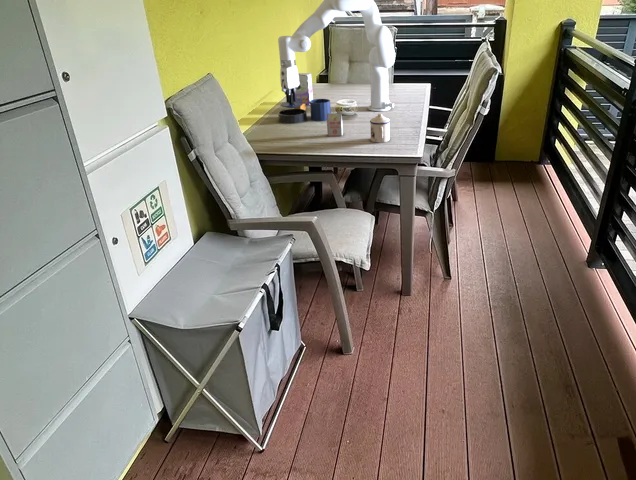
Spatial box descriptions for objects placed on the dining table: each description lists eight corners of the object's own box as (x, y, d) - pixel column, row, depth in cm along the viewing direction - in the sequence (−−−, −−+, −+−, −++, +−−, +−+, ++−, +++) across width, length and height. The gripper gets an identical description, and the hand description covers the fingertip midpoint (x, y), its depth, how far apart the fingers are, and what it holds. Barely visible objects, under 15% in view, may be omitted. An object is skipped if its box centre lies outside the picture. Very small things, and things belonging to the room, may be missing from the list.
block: (305, 111, 294) (305, 103, 291) (301, 113, 291) (300, 105, 288) (299, 111, 296) (298, 102, 293) (294, 112, 293) (293, 104, 290)
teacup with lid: (369, 137, 249) (369, 111, 242) (388, 136, 249) (389, 111, 243) (371, 145, 239) (371, 118, 232) (391, 144, 239) (392, 117, 233)
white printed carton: (328, 134, 256) (327, 112, 250) (342, 134, 255) (341, 112, 250) (327, 136, 253) (326, 114, 247) (341, 136, 252) (340, 114, 247)
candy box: (313, 103, 311) (311, 73, 302) (309, 105, 306) (307, 75, 298) (292, 102, 315) (289, 72, 306) (287, 104, 310) (285, 74, 302)
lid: (306, 104, 278) (305, 92, 275) (293, 109, 270) (292, 96, 267) (289, 102, 283) (288, 90, 280) (276, 107, 275) (275, 94, 272)
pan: (312, 118, 282) (311, 110, 280) (295, 124, 272) (295, 116, 270) (290, 115, 289) (289, 107, 287) (273, 121, 278) (272, 113, 276)
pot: (334, 117, 282) (333, 99, 278) (323, 121, 275) (322, 104, 270) (318, 115, 287) (317, 97, 282) (307, 119, 280) (305, 102, 275)
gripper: (284, 66, 258) (287, 106, 268) (303, 61, 270) (306, 99, 279) (271, 65, 261) (275, 104, 271) (291, 60, 273) (294, 98, 283)
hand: (291, 101), depth 275 cm, fingers closed on lid, 2 cm apart
